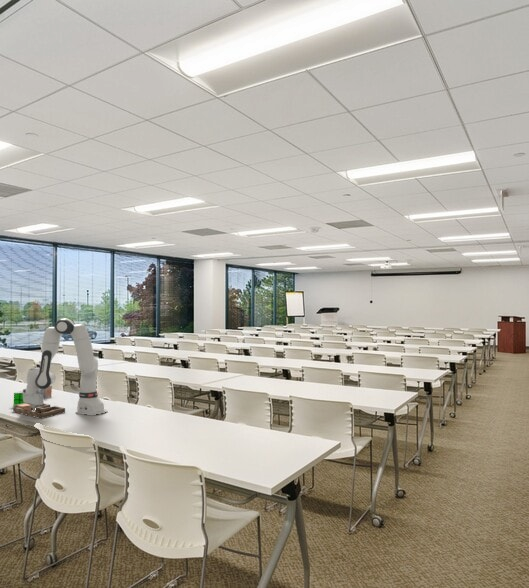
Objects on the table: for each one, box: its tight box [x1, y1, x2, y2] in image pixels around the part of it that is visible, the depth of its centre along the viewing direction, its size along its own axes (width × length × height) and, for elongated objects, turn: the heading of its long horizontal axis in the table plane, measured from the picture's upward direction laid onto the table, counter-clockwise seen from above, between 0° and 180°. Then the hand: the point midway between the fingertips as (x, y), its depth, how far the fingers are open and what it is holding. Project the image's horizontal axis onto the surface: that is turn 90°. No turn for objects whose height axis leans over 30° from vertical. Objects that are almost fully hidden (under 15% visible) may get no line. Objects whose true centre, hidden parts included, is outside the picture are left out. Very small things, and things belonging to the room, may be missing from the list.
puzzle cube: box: [13, 390, 30, 405], centre depth 338 cm, size 10×10×10 cm
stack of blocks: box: [40, 384, 53, 399], centre depth 371 cm, size 21×6×12 cm, turn 67°
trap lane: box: [12, 402, 66, 419], centre depth 317 cm, size 33×20×4 cm, turn 58°
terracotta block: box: [17, 404, 33, 411], centre depth 319 cm, size 8×6×4 cm
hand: (33, 410), depth 314 cm, fingers closed
